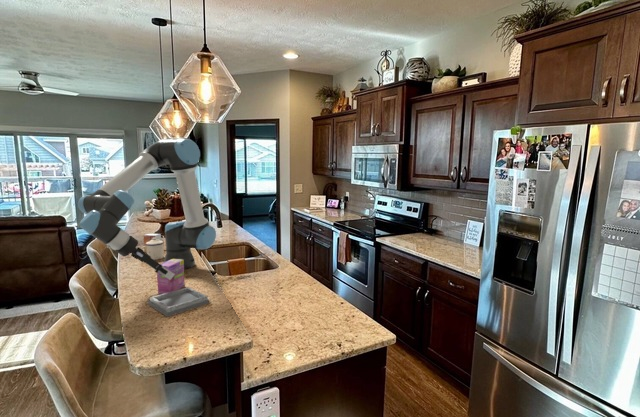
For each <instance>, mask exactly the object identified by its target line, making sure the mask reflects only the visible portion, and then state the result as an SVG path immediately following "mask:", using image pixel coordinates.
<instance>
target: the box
mask: <svg viewBox="0 0 640 417" xmlns="http://www.w3.org/2000/svg"><path fill="white" fill-rule="evenodd" d="M159 264H160V265H162V266H164V267H165V268H166V269H168V270H169V271H171V272H172V273H173V274H175V275H174V276H173V277H172V279H171V280H169V279H168V278H166V277H165V276H163V275H162V274H160V273H159V272H157V273H156V278H157V294H159V295H161V294H164V293H168V292H172V291H176V290H179V289H182V288H184V287H185V285H186V284H185V269H184V260H182V259H171V260H169V261H166V262H164V261H163V262H162V263H159ZM158 266H159V265H158ZM158 266H157V267H158Z"/></svg>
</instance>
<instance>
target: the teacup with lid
mask: <svg viewBox="0 0 640 417" xmlns="http://www.w3.org/2000/svg"><path fill="white" fill-rule="evenodd" d="M152 239H153V240H150V241H149V242H147V243H146V246H144V245H143V246H141V247H140V249H142V250H143V249H144V248H146V249H147V252H146V253H147V254H148V255H149V256H151V257H150V258H152V259H153V260H155V261H159V260H161V259H165V252H164V251H165V250H164V241H163V240H161V241H160V240H158V239H156V238H152Z"/></svg>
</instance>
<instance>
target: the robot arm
mask: <svg viewBox="0 0 640 417" xmlns="http://www.w3.org/2000/svg"><path fill="white" fill-rule="evenodd" d="M200 158H201V150H200V149H199V146H198V145H197V143H196V142H195V141H194V140H192V139H190V138H182V137H181V138H169V139H167V138H165V139H164V138H163V139H160V140H157V141H156V142H153V143H152V144H150V145H149V146H148V147H146V148H145V149H143V150H142V151H141V152H139V154H138V157H137V158H136V159H135V160H134V161H132V162H131V163H130V164H128V165H126V167H125V168H123V169H122V170H121V171H120V172H118V173H117V174H116V175H115V176H114V177H111V178H110V179H109V180H108V181H107V182H105V184H103V185H102V186H101V187H100V188H98V189H97V190H95V192H93V193H91V194H87V195H83V196H81V197H80V198H79V199H78V201H77V208H78V209H79V212H81V213H82V214H86V215H84V217H83V218H82V219H80V222H79V227H80V229H82V230H83V231H85V232H86V233H87V234H88V235H91V236H92V237H93V238H96V239H97V240H99V241H100V242H101V243H103V244H104V245H106V248H107V249H112V250H113V251H115V252H116V253H118V254H120V255H121V256H122V257H128V256H129V255H130V256H131V257H133V258H134V259H136V260H138V261H139V262H141V263H144V264H146V265H147V266H149V267H150V268H151V269H153V270H154V272H155V274H157V272H159V273H160V274H162V275H163V276H165V277H166V278H168V279H169V280H171V279H172V277H173V276H174V275H175V274H173V273H172V272H171V271H169V270H168V269H166V268H165V267H164V266H162V265H160V264H161V263H159V262H157V260H153V259H152V258H150V257H151V256H149V255H148V254H147V252H144V249H143V248H142V249H141V247H139V246H138V244H139V241H138V239H136V238H135V237H133V236H132V235H130V234H129V233H128V232H127V231H125V230H124V229H122V227H119V226H118V225H117V224H119V222H120V221H121V220H122V219H123V217H125V215H126V214H127V213H128V212H129V210H131V208H132V206H133V204H135V198H133V196H132V195H131V194H130V193H129V192H128V191H129V190H131V188H133V186H135V185H136V184H137V183H138V182H140V181H141V180H142V179H143V178H144V177H145V176H147V174H149V173H150V172H151V171H156V170H157V169H158V168H160V167H161V166H166V165H167V166H169V168H170V171H171V172H173V173H174V175H175V179H176V182H177V188H178V191H179V197H180V200H181V201H180V202H181V205H182V210H183V213H184V217H185V220H181V221H176V222H175V221H174V222H169V223H166V224H165V226H164V237H165V240H164V241H165V251H166V252H165V255H164V258H163V259H164V260H163V263H164V262H166V261H169V260H171V259H182V260H184V270H186V269H190V268H193V267H194V266H196V261H195V257H194V255H193V252H192V250H191V249H197V250H207V249H210V248H211V247H212V246H213V245H214V243H215V240H216V239H217V238H216V237H217V233H216V232H217V231H216V229H215V227H214V226H212V225H210V224H209V220H208V218H206V217H205V215H204V214H205V213H204V210H203V205H202V199H201V196H200V191H199V190H200V189H199V185H198V180H197V177H196V176H197V175H196V171H195V170H196V169H197V168H198V163H199V161H200ZM158 265H159V266H158ZM157 266H158V267H157Z"/></svg>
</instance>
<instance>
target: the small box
mask: <svg viewBox="0 0 640 417" xmlns="http://www.w3.org/2000/svg"><path fill="white" fill-rule="evenodd" d="M152 238H156V239H158V240H160V241H162V235H161V233H147V234H143V246H146V243H147V242H149V241H150V240H153V239H152ZM143 251H144V252H145V253H147V249H146V248H143Z"/></svg>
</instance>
